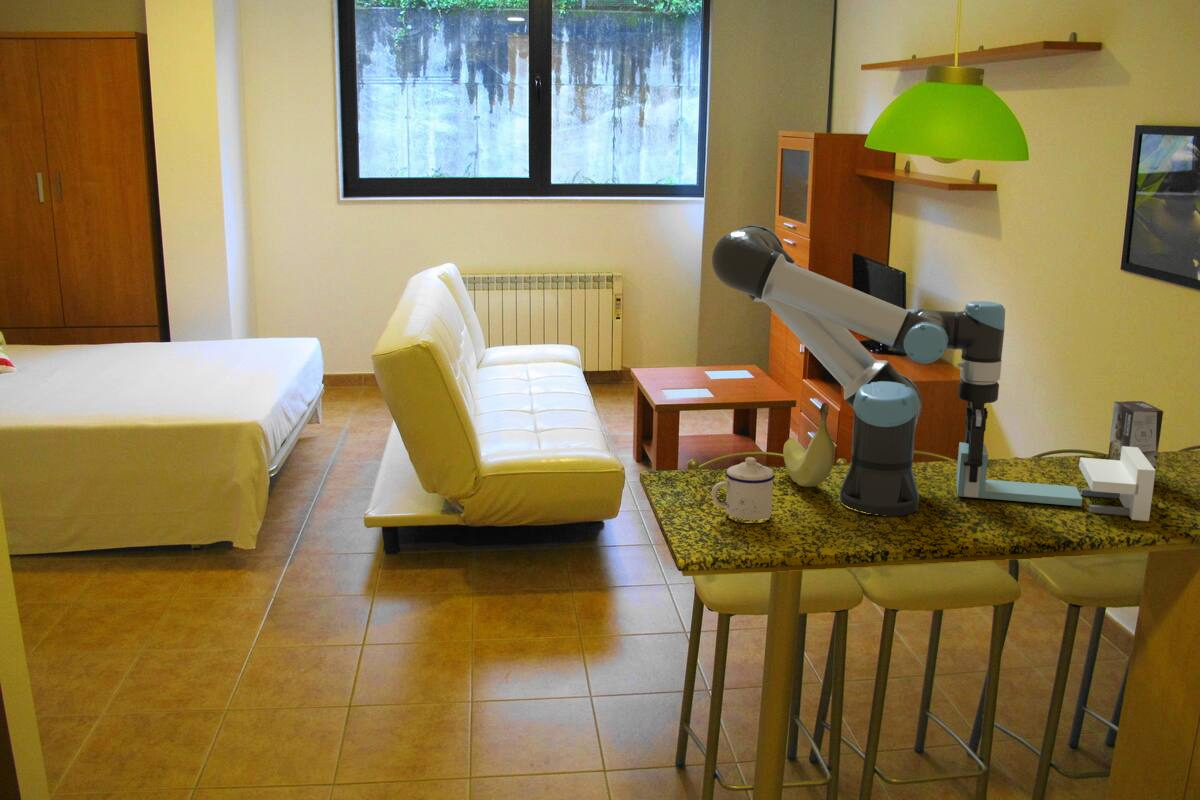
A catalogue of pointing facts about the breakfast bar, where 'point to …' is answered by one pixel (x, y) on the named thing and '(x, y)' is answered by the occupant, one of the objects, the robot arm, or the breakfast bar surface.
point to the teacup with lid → (747, 490)
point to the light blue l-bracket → (1014, 486)
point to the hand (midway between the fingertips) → (969, 489)
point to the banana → (811, 456)
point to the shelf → (1121, 483)
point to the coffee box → (1135, 429)
